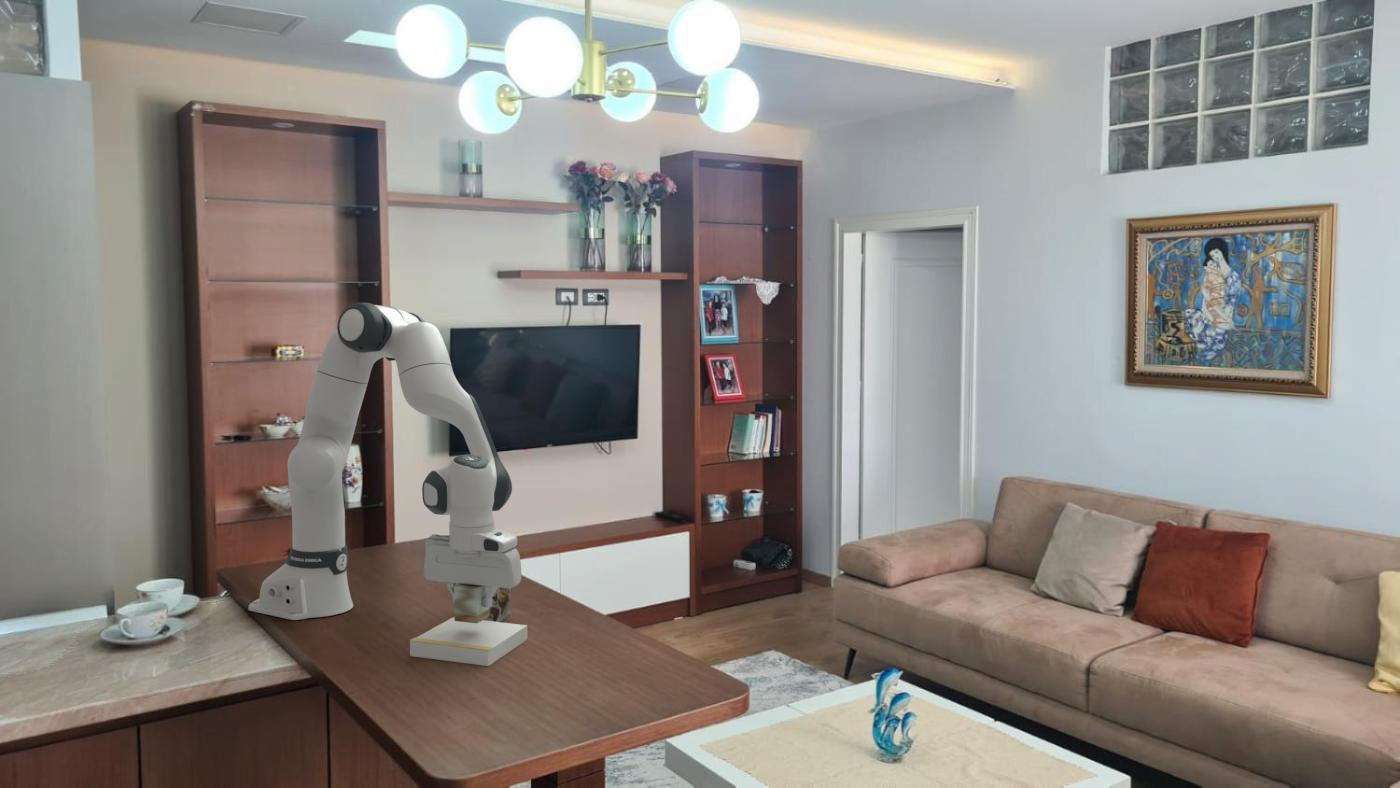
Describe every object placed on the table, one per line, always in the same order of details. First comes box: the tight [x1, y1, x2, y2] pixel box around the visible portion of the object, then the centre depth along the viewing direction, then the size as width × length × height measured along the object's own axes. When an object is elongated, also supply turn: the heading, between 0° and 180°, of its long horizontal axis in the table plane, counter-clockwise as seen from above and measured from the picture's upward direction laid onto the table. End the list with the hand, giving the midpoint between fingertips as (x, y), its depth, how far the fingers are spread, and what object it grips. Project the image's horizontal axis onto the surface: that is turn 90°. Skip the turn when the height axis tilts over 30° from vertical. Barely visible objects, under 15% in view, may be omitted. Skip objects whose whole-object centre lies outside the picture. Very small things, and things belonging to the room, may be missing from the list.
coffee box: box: [484, 587, 511, 622], centre depth 234 cm, size 9×6×16 cm
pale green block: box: [453, 583, 489, 623], centre depth 215 cm, size 5×5×7 cm
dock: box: [409, 616, 528, 667], centre depth 216 cm, size 17×17×3 cm
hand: (472, 605), depth 215 cm, fingers closed on pale green block, 5 cm apart
